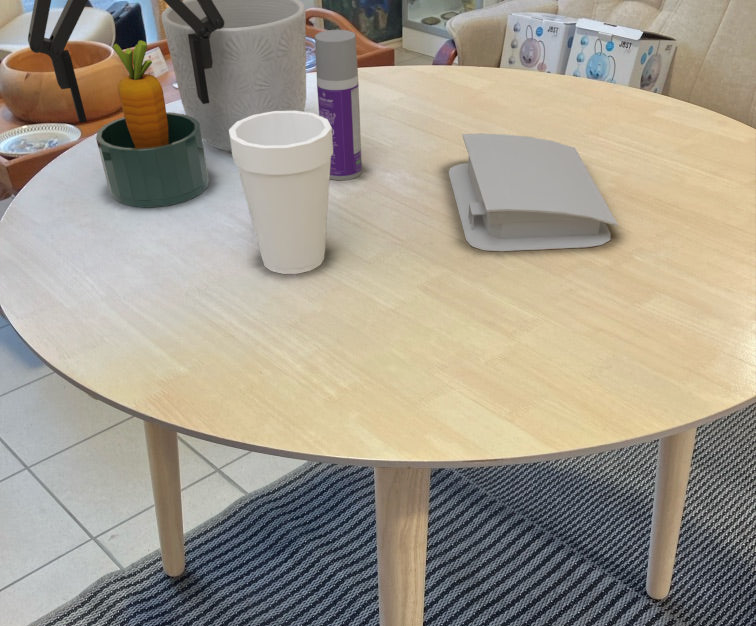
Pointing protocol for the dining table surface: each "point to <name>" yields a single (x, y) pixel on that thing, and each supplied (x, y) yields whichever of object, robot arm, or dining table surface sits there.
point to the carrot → (142, 100)
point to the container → (340, 99)
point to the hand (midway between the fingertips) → (143, 109)
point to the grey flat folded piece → (527, 195)
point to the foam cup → (286, 185)
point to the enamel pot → (154, 164)
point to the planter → (242, 63)
